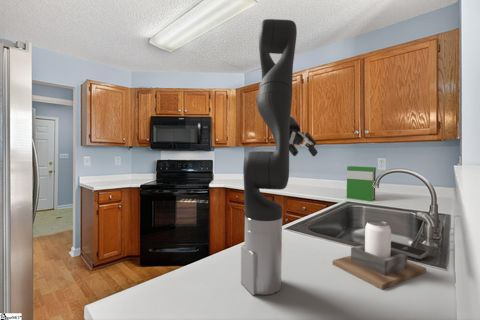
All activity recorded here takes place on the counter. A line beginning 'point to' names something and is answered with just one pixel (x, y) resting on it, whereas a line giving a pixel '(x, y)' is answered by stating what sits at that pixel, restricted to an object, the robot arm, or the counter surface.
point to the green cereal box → (361, 183)
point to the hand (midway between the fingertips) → (306, 154)
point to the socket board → (379, 267)
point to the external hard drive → (409, 251)
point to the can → (378, 238)
